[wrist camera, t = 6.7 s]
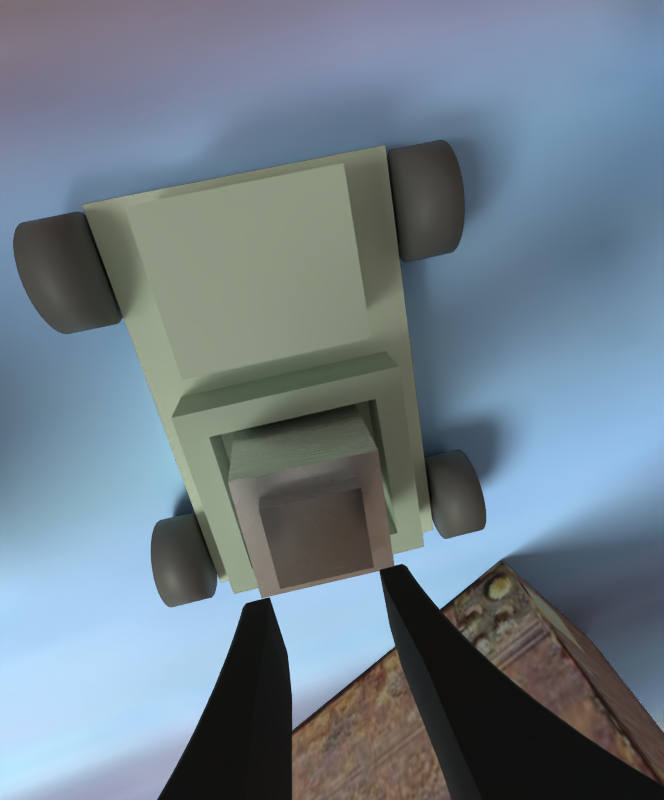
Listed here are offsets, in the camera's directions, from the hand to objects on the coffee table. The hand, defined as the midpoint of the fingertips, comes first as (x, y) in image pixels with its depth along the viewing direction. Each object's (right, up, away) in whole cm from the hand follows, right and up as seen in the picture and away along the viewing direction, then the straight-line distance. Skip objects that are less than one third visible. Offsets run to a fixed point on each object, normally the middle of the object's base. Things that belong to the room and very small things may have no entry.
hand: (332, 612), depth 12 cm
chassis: (-2, +6, +8) cm, 10 cm away
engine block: (-1, +3, +7) cm, 8 cm away
